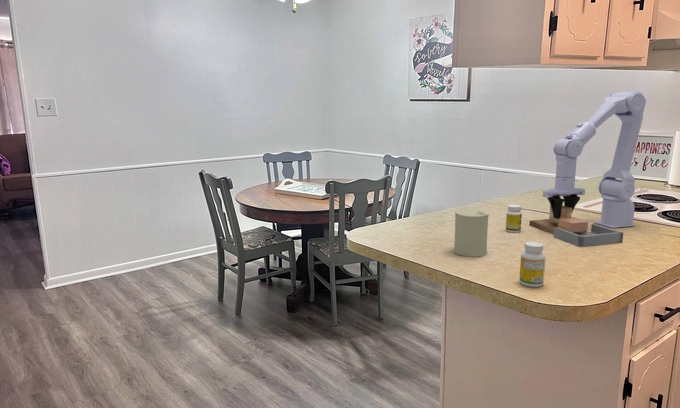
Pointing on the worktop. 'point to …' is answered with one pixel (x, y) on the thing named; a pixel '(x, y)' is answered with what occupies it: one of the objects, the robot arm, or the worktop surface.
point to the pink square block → (572, 224)
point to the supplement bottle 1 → (513, 218)
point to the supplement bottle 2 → (532, 265)
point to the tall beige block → (565, 213)
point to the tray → (590, 236)
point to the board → (546, 225)
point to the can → (471, 232)
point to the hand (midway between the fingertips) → (562, 217)
